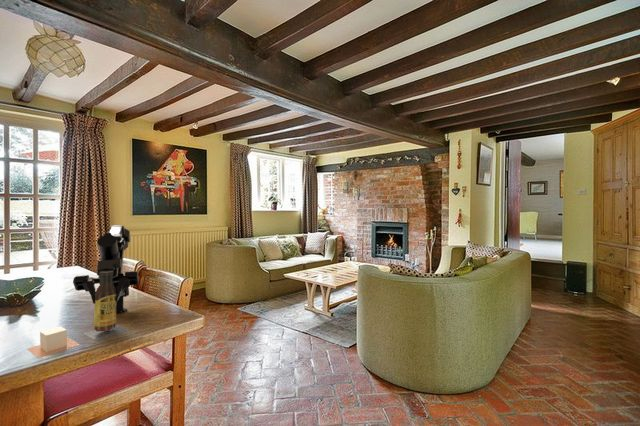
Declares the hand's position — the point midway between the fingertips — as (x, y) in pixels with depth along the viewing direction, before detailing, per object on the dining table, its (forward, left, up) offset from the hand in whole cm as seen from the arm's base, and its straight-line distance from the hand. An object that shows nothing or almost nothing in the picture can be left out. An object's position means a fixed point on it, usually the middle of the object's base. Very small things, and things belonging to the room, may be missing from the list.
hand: (105, 301), depth 105 cm
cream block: (-2, -13, -11) cm, 17 cm away
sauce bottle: (-1, +1, -10) cm, 10 cm away
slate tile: (-1, +1, -11) cm, 11 cm away
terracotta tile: (-2, -13, -11) cm, 18 cm away
